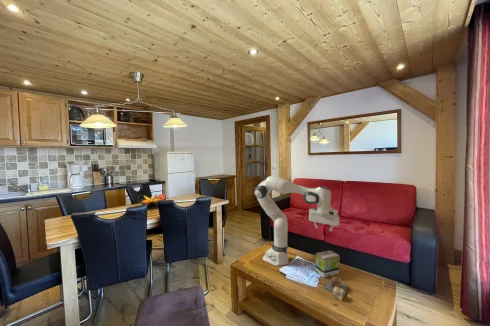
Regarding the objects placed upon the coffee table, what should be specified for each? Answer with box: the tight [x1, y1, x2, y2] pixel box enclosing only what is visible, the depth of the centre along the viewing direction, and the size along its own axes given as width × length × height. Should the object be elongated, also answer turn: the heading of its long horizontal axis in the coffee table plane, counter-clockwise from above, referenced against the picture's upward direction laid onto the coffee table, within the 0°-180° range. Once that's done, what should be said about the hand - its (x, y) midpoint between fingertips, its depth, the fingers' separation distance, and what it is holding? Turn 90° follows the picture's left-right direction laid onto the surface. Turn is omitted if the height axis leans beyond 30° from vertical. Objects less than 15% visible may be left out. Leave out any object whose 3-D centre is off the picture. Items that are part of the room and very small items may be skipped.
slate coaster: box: [324, 279, 348, 297], centre depth 145 cm, size 12×12×1 cm
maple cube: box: [332, 287, 344, 302], centre depth 136 cm, size 5×5×5 cm
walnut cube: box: [331, 275, 342, 288], centre depth 145 cm, size 5×5×5 cm
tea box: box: [314, 249, 341, 278], centre depth 163 cm, size 15×10×15 cm
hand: (323, 229), depth 147 cm, fingers open, 8 cm apart
